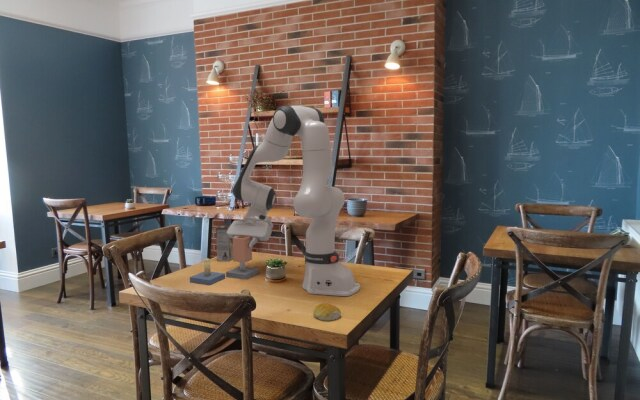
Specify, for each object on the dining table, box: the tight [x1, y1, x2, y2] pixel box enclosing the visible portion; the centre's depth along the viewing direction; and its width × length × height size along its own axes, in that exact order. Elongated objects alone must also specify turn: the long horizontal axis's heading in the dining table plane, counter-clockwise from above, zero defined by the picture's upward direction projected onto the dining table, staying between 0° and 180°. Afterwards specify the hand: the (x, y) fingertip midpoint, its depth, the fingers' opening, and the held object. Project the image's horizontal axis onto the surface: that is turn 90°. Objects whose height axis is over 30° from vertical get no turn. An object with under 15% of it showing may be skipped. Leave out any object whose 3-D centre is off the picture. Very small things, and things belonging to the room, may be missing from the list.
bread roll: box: [312, 302, 342, 322], centre depth 145 cm, size 8×9×4 cm
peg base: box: [189, 257, 226, 286], centre depth 183 cm, size 10×10×9 cm
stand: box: [225, 262, 260, 280], centre depth 190 cm, size 10×10×10 cm
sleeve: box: [232, 236, 253, 264], centre depth 189 cm, size 6×6×10 cm
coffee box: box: [215, 224, 233, 262], centre depth 216 cm, size 9×6×16 cm
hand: (242, 246), depth 189 cm, fingers closed on sleeve, 6 cm apart
